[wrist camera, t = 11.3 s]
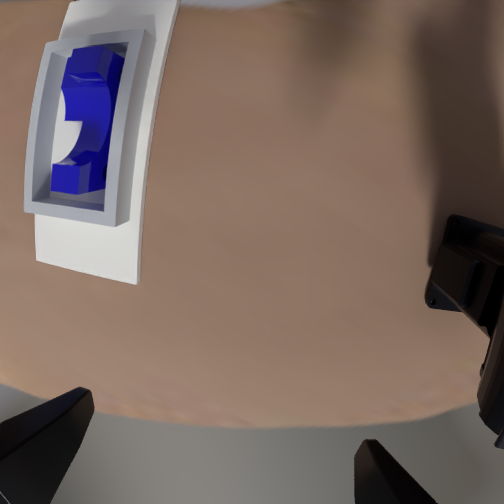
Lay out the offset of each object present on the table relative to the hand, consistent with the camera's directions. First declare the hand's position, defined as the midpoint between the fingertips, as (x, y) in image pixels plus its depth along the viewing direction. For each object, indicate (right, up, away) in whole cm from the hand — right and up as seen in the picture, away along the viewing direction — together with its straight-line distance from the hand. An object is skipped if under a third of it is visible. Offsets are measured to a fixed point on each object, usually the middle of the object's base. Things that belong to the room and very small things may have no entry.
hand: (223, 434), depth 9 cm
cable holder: (-9, +14, +9) cm, 19 cm away
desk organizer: (-10, +14, +9) cm, 19 cm away
